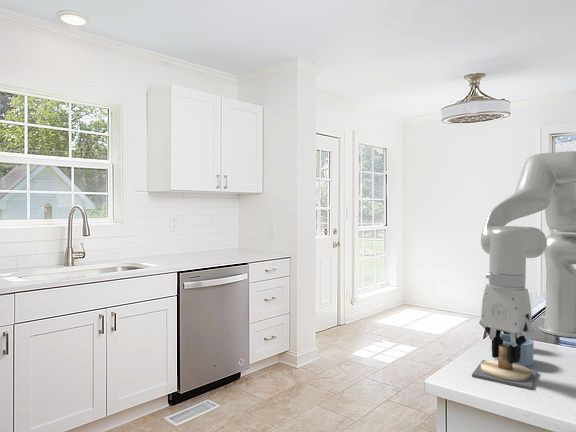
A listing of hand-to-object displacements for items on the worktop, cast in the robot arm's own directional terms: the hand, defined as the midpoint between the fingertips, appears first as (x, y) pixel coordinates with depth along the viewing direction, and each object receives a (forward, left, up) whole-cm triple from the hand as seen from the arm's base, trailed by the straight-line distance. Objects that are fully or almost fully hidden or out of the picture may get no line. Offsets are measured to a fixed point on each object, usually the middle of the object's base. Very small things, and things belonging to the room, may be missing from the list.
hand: (505, 358), depth 100 cm
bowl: (-9, +8, -4) cm, 13 cm away
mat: (0, 0, -4) cm, 4 cm away
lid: (0, 0, -3) cm, 3 cm away
